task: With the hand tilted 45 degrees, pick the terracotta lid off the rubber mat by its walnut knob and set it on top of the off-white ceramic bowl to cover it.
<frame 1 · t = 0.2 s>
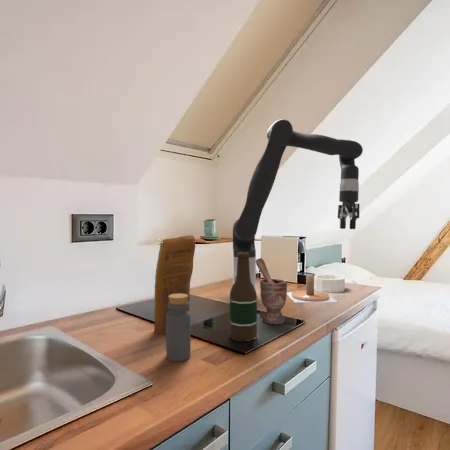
hand: (347, 228, 142), 29 cm above the worktop, tool pointing down, fingers open, 8 cm apart
beer bottle: (243, 338, 95), on the worktop
lid: (310, 296, 139), point 1 cm above the worktop, touching mat
mat: (310, 298, 139), on the worktop
bottle: (178, 357, 82), on the worktop
pancake mix bag: (175, 327, 104), on the worktop
bowl: (329, 290, 154), on the worktop
mortar and pestle: (269, 320, 110), on the worktop
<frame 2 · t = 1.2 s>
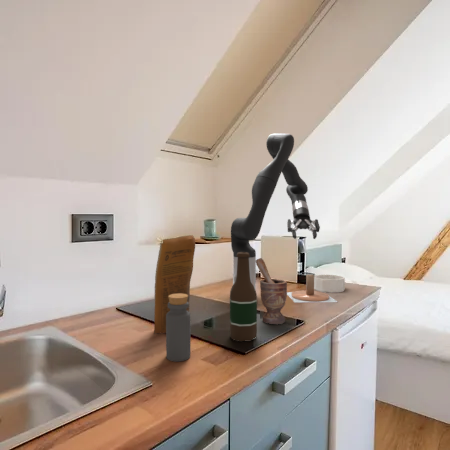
hand: (305, 237, 150), 24 cm above the worktop, tool tilted 45°, fingers open, 8 cm apart
nothing on the worktop moved.
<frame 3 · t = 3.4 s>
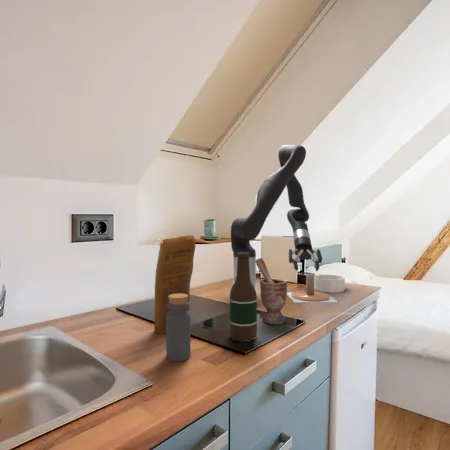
hand: (307, 269, 145), 11 cm above the worktop, tool tilted 45°, fingers open, 8 cm apart
nothing on the worktop moved.
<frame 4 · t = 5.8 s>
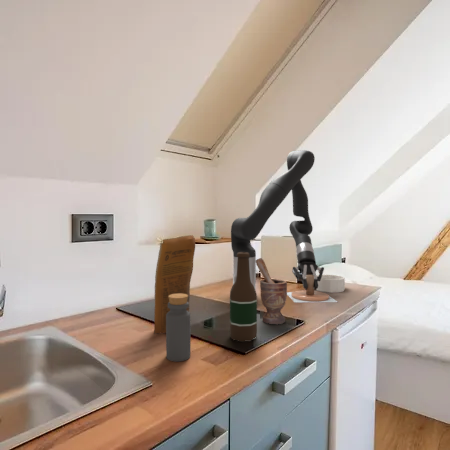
hand: (311, 288, 137), 4 cm above the worktop, tool tilted 45°, fingers closed on lid, 3 cm apart
lid: (309, 296, 139), point 1 cm above the worktop, touching gripper, mat
everything else where it was.
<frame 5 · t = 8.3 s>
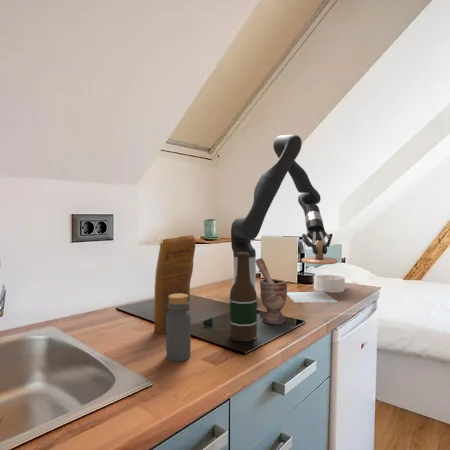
hand: (320, 253, 143), 18 cm above the worktop, tool tilted 45°, fingers closed on lid, 3 cm apart
lid: (319, 261, 145), point 14 cm above the worktop, touching gripper
everything else where it was.
when the fingers open (12 cm above the worktop, at t = 10.6 s): lid drops 2 cm, resting on bowl.
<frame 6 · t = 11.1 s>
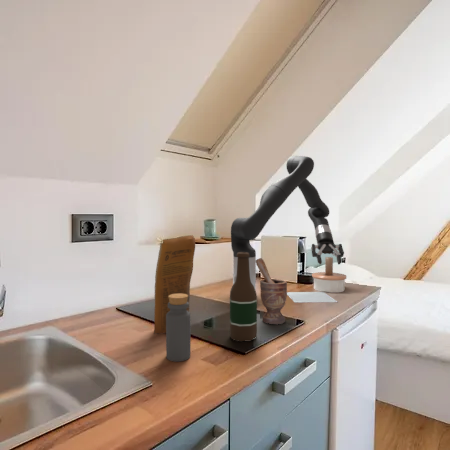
hand: (330, 263, 152), 13 cm above the worktop, tool tilted 45°, fingers open, 8 cm apart
lid: (328, 277, 154), point 6 cm above the worktop, touching bowl
everything else where it was.
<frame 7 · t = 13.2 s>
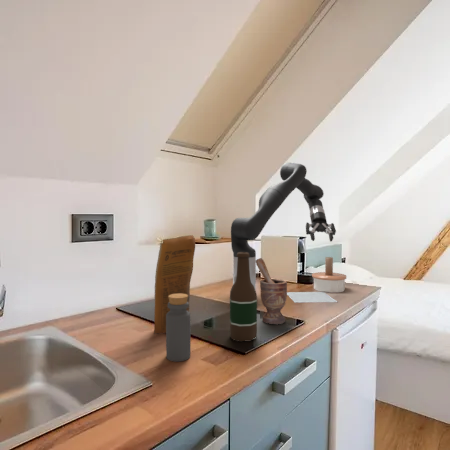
hand: (322, 240, 164), 22 cm above the worktop, tool tilted 45°, fingers open, 8 cm apart
nothing on the worktop moved.
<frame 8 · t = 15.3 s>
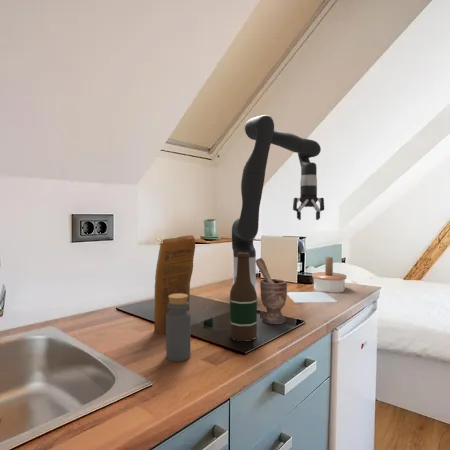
hand: (308, 219, 158), 32 cm above the worktop, tool pointing down, fingers open, 8 cm apart
nothing on the worktop moved.
at the end: lid 0.1 cm from the bowl (horizontally); lid point 6.0 cm above the worktop; lid tilted 0° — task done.
